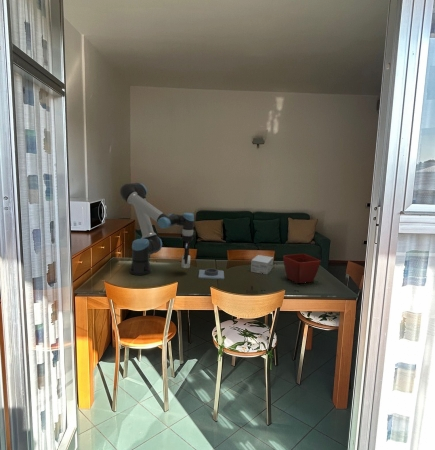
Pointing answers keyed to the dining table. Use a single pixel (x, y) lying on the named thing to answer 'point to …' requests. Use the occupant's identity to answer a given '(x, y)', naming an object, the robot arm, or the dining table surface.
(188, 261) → the plug cap
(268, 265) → the supplement box
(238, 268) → the dining table surface
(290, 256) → the plant pot
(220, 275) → the barrel board
